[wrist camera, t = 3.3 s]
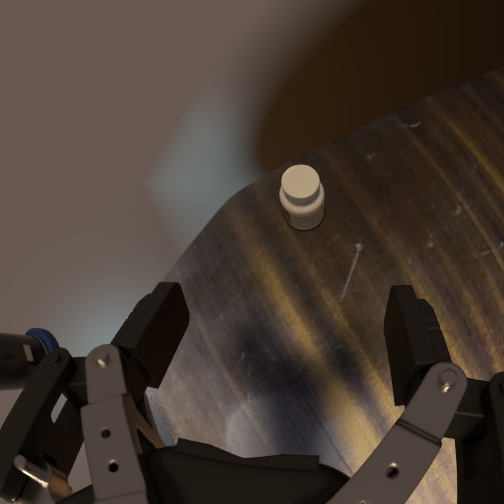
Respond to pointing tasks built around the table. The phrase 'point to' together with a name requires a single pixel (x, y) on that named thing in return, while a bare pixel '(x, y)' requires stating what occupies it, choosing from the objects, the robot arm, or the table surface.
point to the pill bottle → (302, 197)
